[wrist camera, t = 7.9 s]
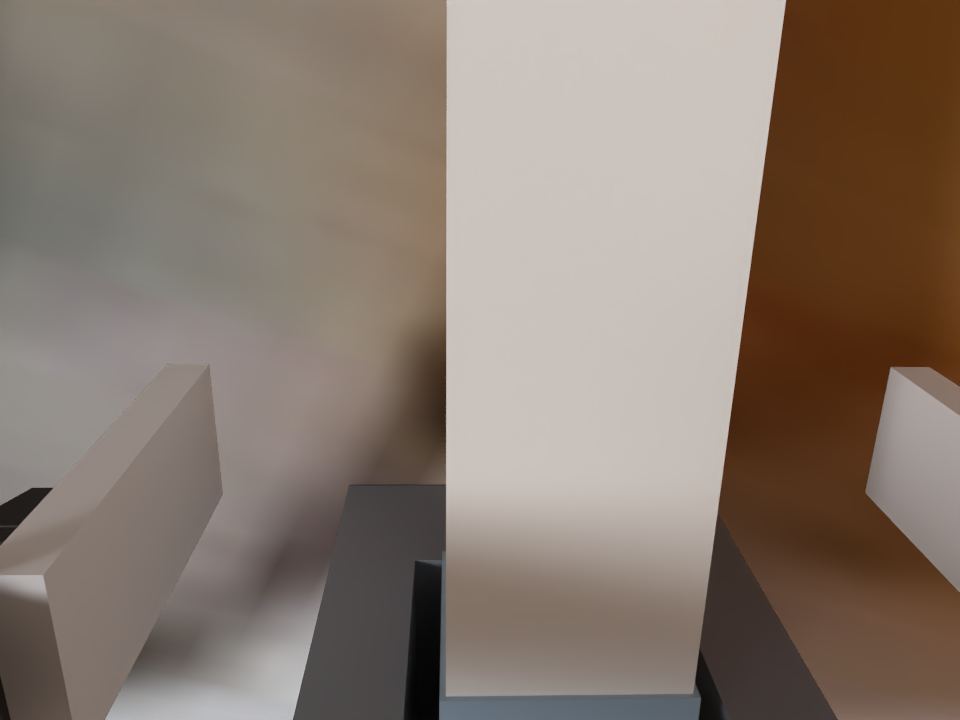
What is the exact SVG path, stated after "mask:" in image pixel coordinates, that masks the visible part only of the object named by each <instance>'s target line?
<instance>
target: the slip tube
mask: <svg viewBox="0 0 960 720" xmlns="http://www.w3.org/2000/svg"><path fill="white" fill-rule="evenodd" d="M785 5H786V0H447V233H446V551H442V593H441V644H440V695H439V720H698V718H699V710H700V703H701V697H700V694H699V691H698V689H697V686H696V684H695V677H696V670H697V662H698V655H699V647H700V640H701V632H702V625H703V617H704V610H705V602H706V595H707V588H708V580H709V573H710V565H711V558H712V550H713V543H714V535H715V528H716V520H717V513H718V505H719V498H720V490H721V483H722V475H723V468H724V461H725V453H726V446H727V438H728V431H729V423H730V416H731V408H732V401H733V393H734V386H735V378H736V371H737V363H738V356H739V348H740V341H741V333H742V326H743V319H744V311H745V304H746V296H747V289H748V281H749V274H750V266H751V259H752V251H753V244H754V236H755V229H756V221H757V214H758V206H759V199H760V192H761V184H762V177H763V169H764V162H765V154H766V147H767V139H768V132H769V124H770V117H771V109H772V102H773V94H774V87H775V79H776V72H777V65H778V57H779V50H780V42H781V35H782V27H783V20H784V12H785Z"/></svg>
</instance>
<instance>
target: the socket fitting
mask: <svg viewBox="0 0 960 720" xmlns="http://www.w3.org/2000/svg"><path fill="white" fill-rule="evenodd" d="M442 551H446V485H349V488H348V493H347V497H346V501H345V505H344V509H343V513H342V518H341V522H340V526H339V530H338V534H337V538H336V543H335V547H334V551H333V555H332V559H331V563H330V568H329V572H328V576H327V580H326V584H325V588H324V593H323V597H322V601H321V605H320V609H319V614H318V618H317V622H316V626H315V630H314V634H313V639H312V643H311V647H310V651H309V655H308V659H307V664H306V668H305V672H304V676H303V680H302V684H301V689H300V693H299V697H298V701H297V705H296V710H295V714H294V718H293V720H439V695H440V644H441V593H442ZM695 684H696V686H697V689H698V691H699V694H700V697H701V703H700V710H699V718H698V720H837V718H836V716H835V714H834V713H833V711H832V709H831V707H830V706H829V704H828V702H827V701H826V699H825V697H824V695H823V694H822V692H821V690H820V689H819V687H818V685H817V683H816V682H815V680H814V678H813V677H812V675H811V673H810V671H809V670H808V668H807V666H806V664H805V663H804V661H803V659H802V658H801V656H800V654H799V652H798V651H797V649H796V647H795V646H794V644H793V642H792V640H791V639H790V637H789V635H788V634H787V632H786V630H785V628H784V627H783V625H782V623H781V622H780V620H779V618H778V616H777V615H776V613H775V611H774V609H773V608H772V606H771V604H770V603H769V601H768V599H767V597H766V596H765V594H764V592H763V591H762V589H761V587H760V585H759V584H758V582H757V580H756V579H755V577H754V575H753V573H752V572H751V570H750V568H749V567H748V565H747V563H746V561H745V560H744V558H743V556H742V554H741V553H740V551H739V549H738V548H737V546H736V544H735V542H734V541H733V539H732V537H731V536H730V534H729V532H728V530H727V529H726V527H725V525H724V524H723V522H722V520H721V518H720V517H719V515H718V513H717V520H716V528H715V535H714V543H713V550H712V558H711V565H710V573H709V580H708V588H707V595H706V602H705V610H704V617H703V625H702V632H701V640H700V647H699V655H698V662H697V670H696V677H695Z"/></svg>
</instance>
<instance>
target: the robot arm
mask: <svg viewBox="0 0 960 720" xmlns="http://www.w3.org/2000/svg"><path fill="white" fill-rule="evenodd" d="M865 493H866V494H867V495H868V496H869V497H870V499H871V500H872V501H873V502H874V503H875V504H876V505H877V506H878V507H879V508H880V509H881V510H882V511H883V512H884V513H885V514H886V515H887V516H888V518H889V519H890V520H891V521H892V522H893V523H894V524H895V525H896V526H897V527H898V528H899V529H900V530H901V531H902V532H903V533H904V534H905V535H906V537H907V538H908V539H909V540H910V541H911V542H912V543H913V544H914V545H915V546H916V547H917V548H918V549H919V550H920V551H921V552H922V553H923V554H924V556H925V557H926V558H927V559H928V560H929V561H930V562H931V563H932V564H933V565H934V566H935V567H936V568H937V569H938V570H939V571H940V572H941V573H942V575H943V576H944V577H945V578H946V579H947V580H948V581H949V582H950V583H951V584H952V585H953V586H954V587H955V588H956V589H957V590H958V591H959V592H960V387H959V386H958V385H956V384H955V383H953V382H952V381H950V380H949V379H947V378H946V377H944V376H942V375H941V374H939V373H938V372H936V371H935V370H933V369H932V368H930V367H891V368H890V373H889V378H888V383H887V388H886V393H885V397H884V402H883V407H882V412H881V417H880V422H879V427H878V432H877V437H876V442H875V447H874V451H873V456H872V461H871V466H870V471H869V476H868V481H867V486H866V491H865ZM222 495H223V491H222V482H221V472H220V463H219V453H218V444H217V434H216V425H215V416H214V406H213V397H212V387H211V378H210V368H209V365H175V364H168V365H167V366H166V367H165V368H164V369H163V370H162V371H161V372H160V373H159V374H158V376H157V377H156V378H155V379H154V380H153V381H152V382H151V383H150V384H149V385H148V386H147V387H146V389H145V390H144V391H143V392H142V393H141V394H140V395H139V396H138V397H137V398H136V399H135V400H134V402H133V403H132V404H131V405H130V406H129V407H128V408H127V409H126V410H125V411H124V412H123V413H122V415H121V416H120V417H119V418H118V419H117V420H116V421H115V422H114V423H113V424H112V425H111V426H110V428H109V429H108V430H107V431H106V432H105V433H104V434H103V435H102V436H101V437H100V438H99V439H98V440H97V442H96V443H95V444H94V445H93V446H92V447H91V448H90V449H89V450H88V451H87V452H86V453H85V455H84V456H83V457H82V458H81V459H80V460H79V461H78V462H77V463H76V464H75V465H74V466H73V468H72V469H71V470H70V471H69V472H68V473H67V474H66V475H65V476H64V477H63V478H62V479H61V481H60V482H59V483H58V484H57V485H56V486H55V487H54V488H31V489H29V490H28V491H26V492H24V493H22V494H20V495H19V496H17V497H15V498H13V499H11V500H10V501H8V502H6V503H4V504H2V505H1V506H0V720H105V718H106V716H107V714H108V712H109V711H110V709H111V707H112V705H113V703H114V701H115V699H116V697H117V695H118V693H119V691H120V690H121V688H122V686H123V684H124V682H125V680H126V678H127V676H128V674H129V672H130V670H131V669H132V667H133V665H134V663H135V661H136V659H137V657H138V655H139V653H140V651H141V649H142V648H143V646H144V644H145V642H146V640H147V638H148V636H149V634H150V632H151V630H152V628H153V627H154V625H155V623H156V621H157V619H158V617H159V615H160V613H161V611H162V609H163V607H164V606H165V604H166V602H167V600H168V598H169V596H170V594H171V592H172V590H173V588H174V586H175V585H176V583H177V581H178V579H179V577H180V575H181V573H182V571H183V569H184V567H185V565H186V564H187V562H188V560H189V558H190V556H191V554H192V552H193V550H194V548H195V546H196V544H197V543H198V541H199V539H200V537H201V535H202V533H203V531H204V529H205V527H206V525H207V523H208V522H209V520H210V518H211V516H212V514H213V512H214V510H215V508H216V506H217V504H218V502H219V501H220V499H221V497H222Z"/></svg>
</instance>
